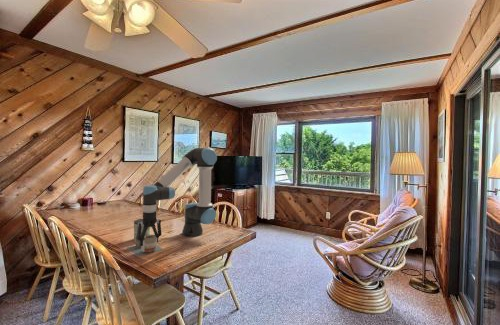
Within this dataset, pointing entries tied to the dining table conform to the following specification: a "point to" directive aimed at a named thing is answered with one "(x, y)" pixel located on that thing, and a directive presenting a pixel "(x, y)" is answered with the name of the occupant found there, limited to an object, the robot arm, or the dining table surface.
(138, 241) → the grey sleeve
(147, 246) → the cream sleeve
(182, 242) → the dining table surface
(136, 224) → the coffee can
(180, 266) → the dining table surface
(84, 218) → the dining table surface
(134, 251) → the pin board
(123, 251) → the dining table surface
